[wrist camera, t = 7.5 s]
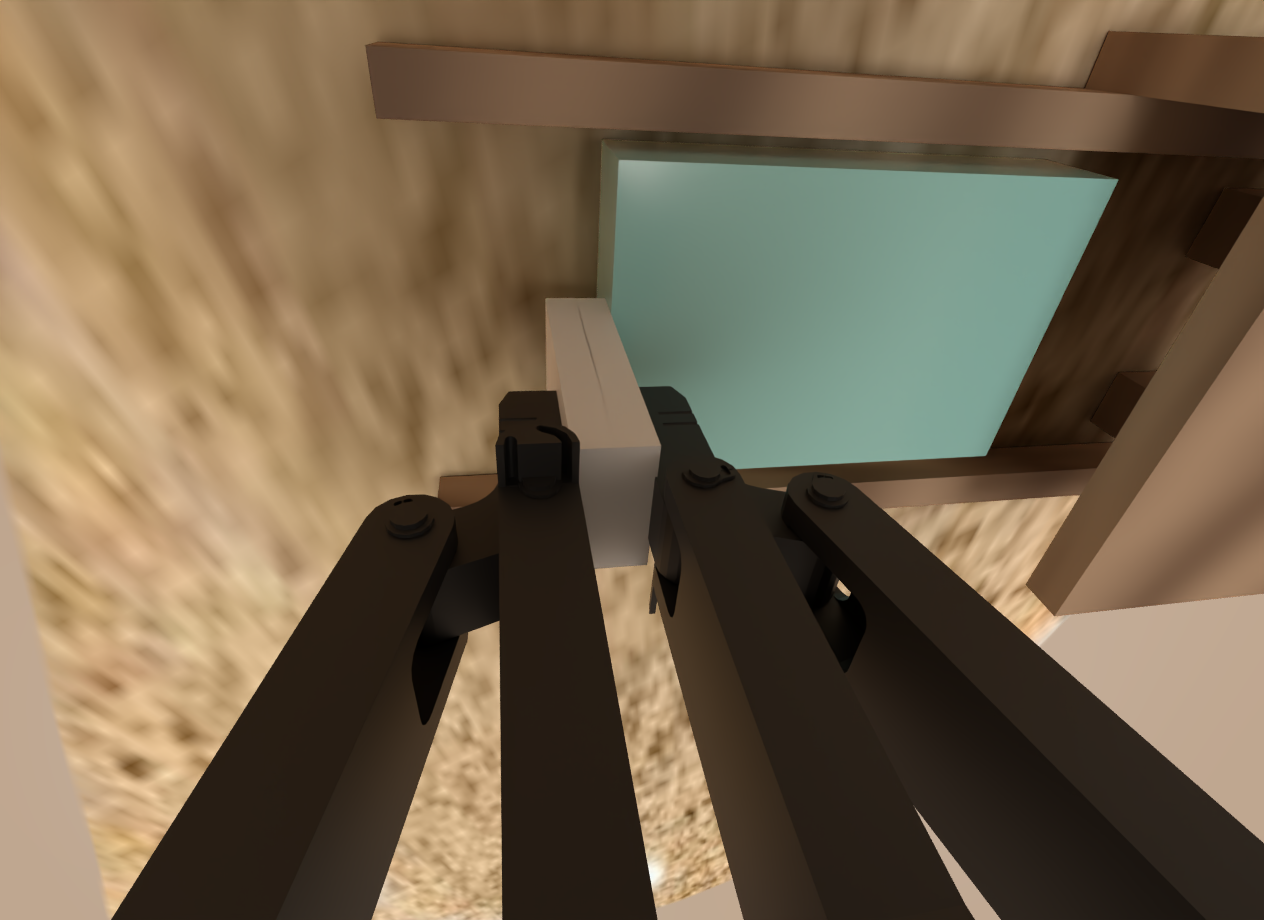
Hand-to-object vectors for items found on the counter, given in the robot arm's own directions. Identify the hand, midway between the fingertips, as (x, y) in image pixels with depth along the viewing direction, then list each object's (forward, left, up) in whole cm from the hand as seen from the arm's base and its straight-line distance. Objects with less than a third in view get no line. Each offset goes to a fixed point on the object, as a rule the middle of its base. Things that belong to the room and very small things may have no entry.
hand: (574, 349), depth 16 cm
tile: (+4, +6, -2) cm, 7 cm away
